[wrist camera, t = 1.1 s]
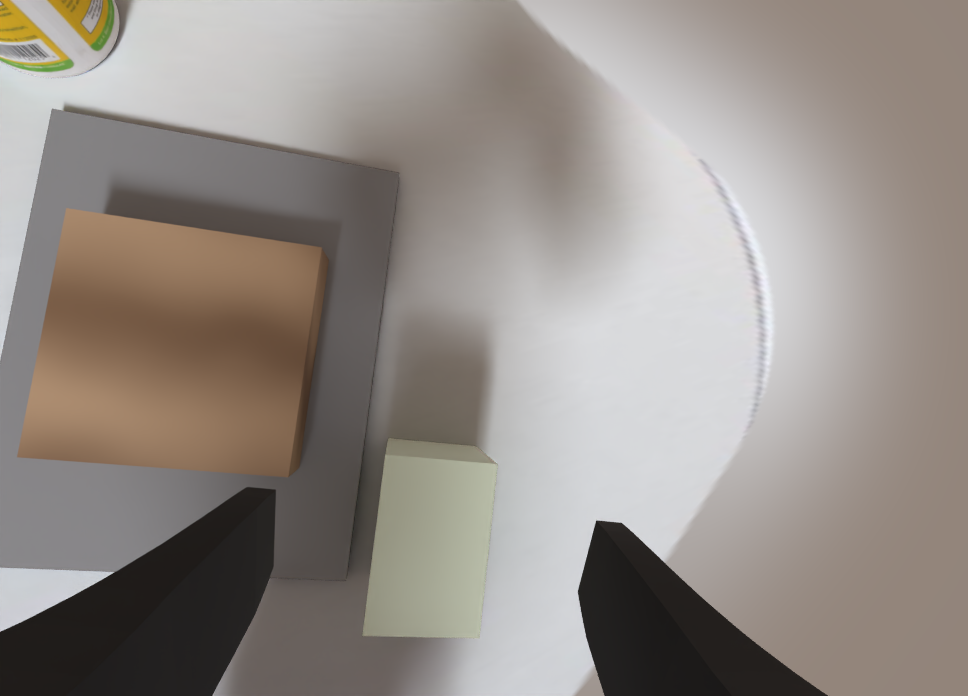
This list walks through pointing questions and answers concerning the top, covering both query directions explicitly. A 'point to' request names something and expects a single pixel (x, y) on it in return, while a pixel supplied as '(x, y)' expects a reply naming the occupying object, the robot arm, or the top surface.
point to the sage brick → (431, 541)
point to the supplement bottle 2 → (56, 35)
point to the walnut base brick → (175, 348)
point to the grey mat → (218, 207)
